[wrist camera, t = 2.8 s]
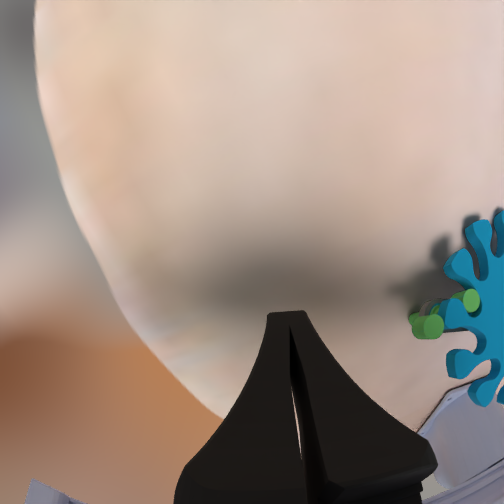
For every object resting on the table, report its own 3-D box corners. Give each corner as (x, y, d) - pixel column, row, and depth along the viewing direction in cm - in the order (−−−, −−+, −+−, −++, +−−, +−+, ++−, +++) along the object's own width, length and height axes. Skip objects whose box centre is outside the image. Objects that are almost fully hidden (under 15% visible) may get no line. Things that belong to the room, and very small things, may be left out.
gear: (560, 215, 9) (567, 387, 7) (511, 244, 15) (513, 382, 12) (420, 194, 11) (418, 435, 8) (383, 237, 17) (379, 405, 14)
